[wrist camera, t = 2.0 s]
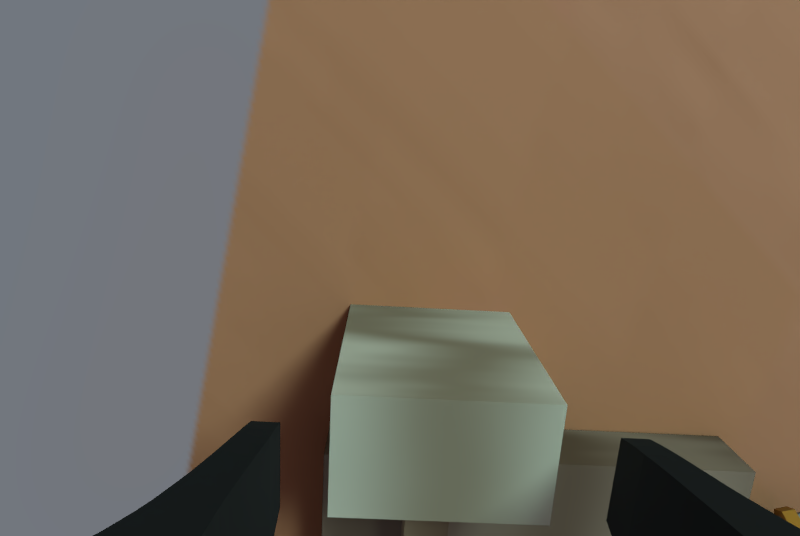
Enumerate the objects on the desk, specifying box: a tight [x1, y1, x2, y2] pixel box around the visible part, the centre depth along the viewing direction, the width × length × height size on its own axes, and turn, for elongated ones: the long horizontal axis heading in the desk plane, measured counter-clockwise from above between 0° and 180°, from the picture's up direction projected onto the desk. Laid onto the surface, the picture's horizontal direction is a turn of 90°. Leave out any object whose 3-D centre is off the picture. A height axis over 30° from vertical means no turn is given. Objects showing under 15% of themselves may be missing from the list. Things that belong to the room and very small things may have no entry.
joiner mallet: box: [327, 304, 567, 536], centre depth 16 cm, size 5×8×6 cm, turn 177°
